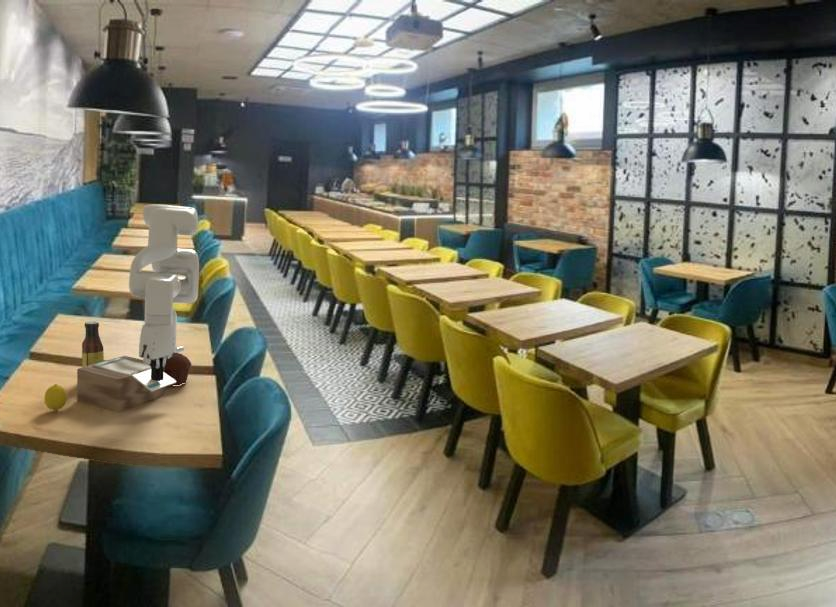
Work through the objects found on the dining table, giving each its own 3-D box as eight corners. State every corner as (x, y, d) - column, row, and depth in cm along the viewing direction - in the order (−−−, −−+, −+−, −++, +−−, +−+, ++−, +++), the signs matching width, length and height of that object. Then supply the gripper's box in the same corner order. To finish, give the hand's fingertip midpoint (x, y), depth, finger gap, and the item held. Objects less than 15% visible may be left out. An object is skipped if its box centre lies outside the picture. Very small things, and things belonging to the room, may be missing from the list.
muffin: (146, 383, 210) (147, 354, 208) (171, 375, 220) (171, 347, 218) (174, 390, 206) (175, 361, 204) (198, 382, 216) (199, 354, 214)
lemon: (50, 407, 183) (50, 380, 181) (70, 408, 183) (70, 382, 182) (40, 414, 177) (40, 386, 176) (61, 415, 178) (61, 388, 176)
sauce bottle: (108, 380, 209) (108, 321, 206) (96, 385, 203) (97, 325, 199) (89, 377, 210) (89, 319, 206) (77, 383, 204) (77, 323, 200)
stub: (156, 368, 195) (157, 367, 195) (175, 382, 193) (176, 381, 193) (131, 376, 186) (132, 374, 186) (151, 391, 184) (152, 389, 184)
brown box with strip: (124, 385, 206) (124, 353, 204) (163, 395, 201) (164, 363, 199) (77, 400, 189) (77, 366, 187) (118, 412, 184) (119, 377, 182)
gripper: (166, 313, 194) (165, 371, 197) (128, 321, 180) (127, 383, 183) (186, 317, 191) (184, 376, 194) (149, 325, 177) (148, 388, 180)
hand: (157, 379), depth 189 cm, fingers closed
